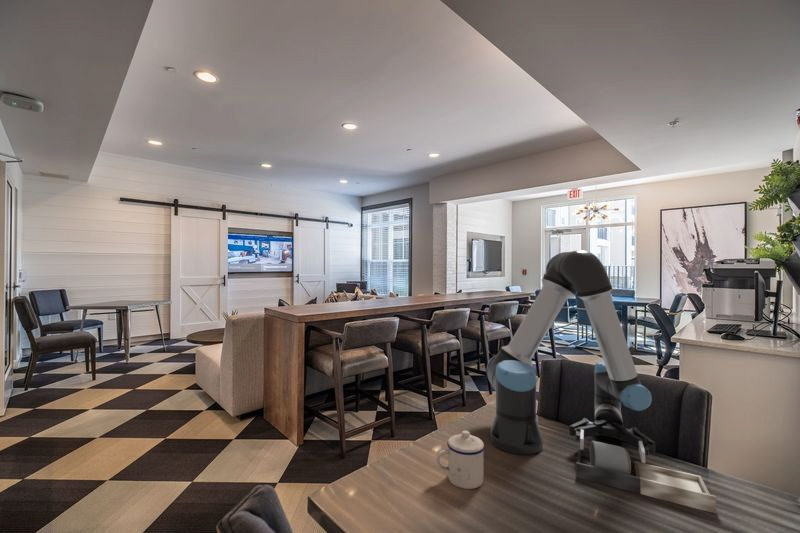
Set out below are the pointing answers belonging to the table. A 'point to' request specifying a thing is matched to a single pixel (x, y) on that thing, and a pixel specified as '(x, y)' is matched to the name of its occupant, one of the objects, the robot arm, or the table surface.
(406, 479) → the table surface
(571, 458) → the table surface
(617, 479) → the box
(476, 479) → the teacup with lid
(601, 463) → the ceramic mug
